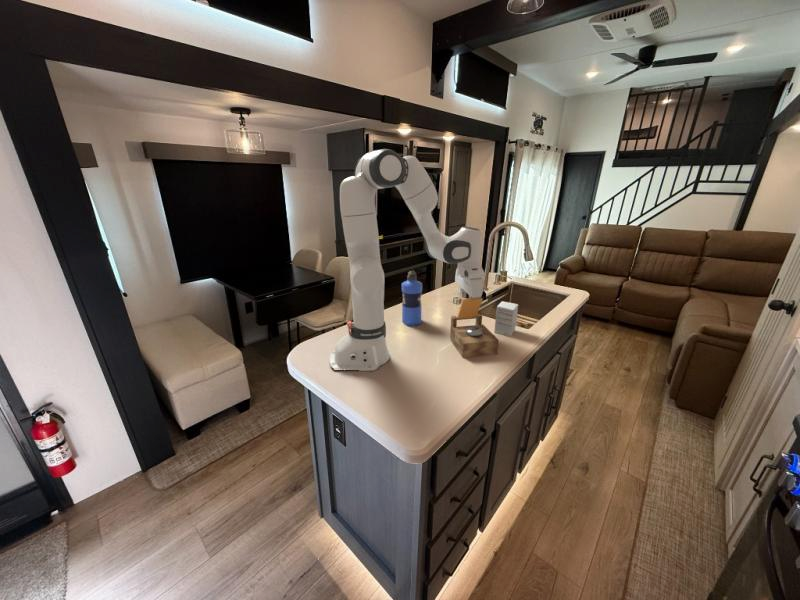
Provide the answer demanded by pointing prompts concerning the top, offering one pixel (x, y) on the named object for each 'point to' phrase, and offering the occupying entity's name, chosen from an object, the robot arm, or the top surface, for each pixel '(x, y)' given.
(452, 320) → the block
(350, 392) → the top surface
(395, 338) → the top surface
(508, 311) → the supplement box
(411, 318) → the water bottle
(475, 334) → the grey light bulb
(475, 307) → the orange rectangular panel
